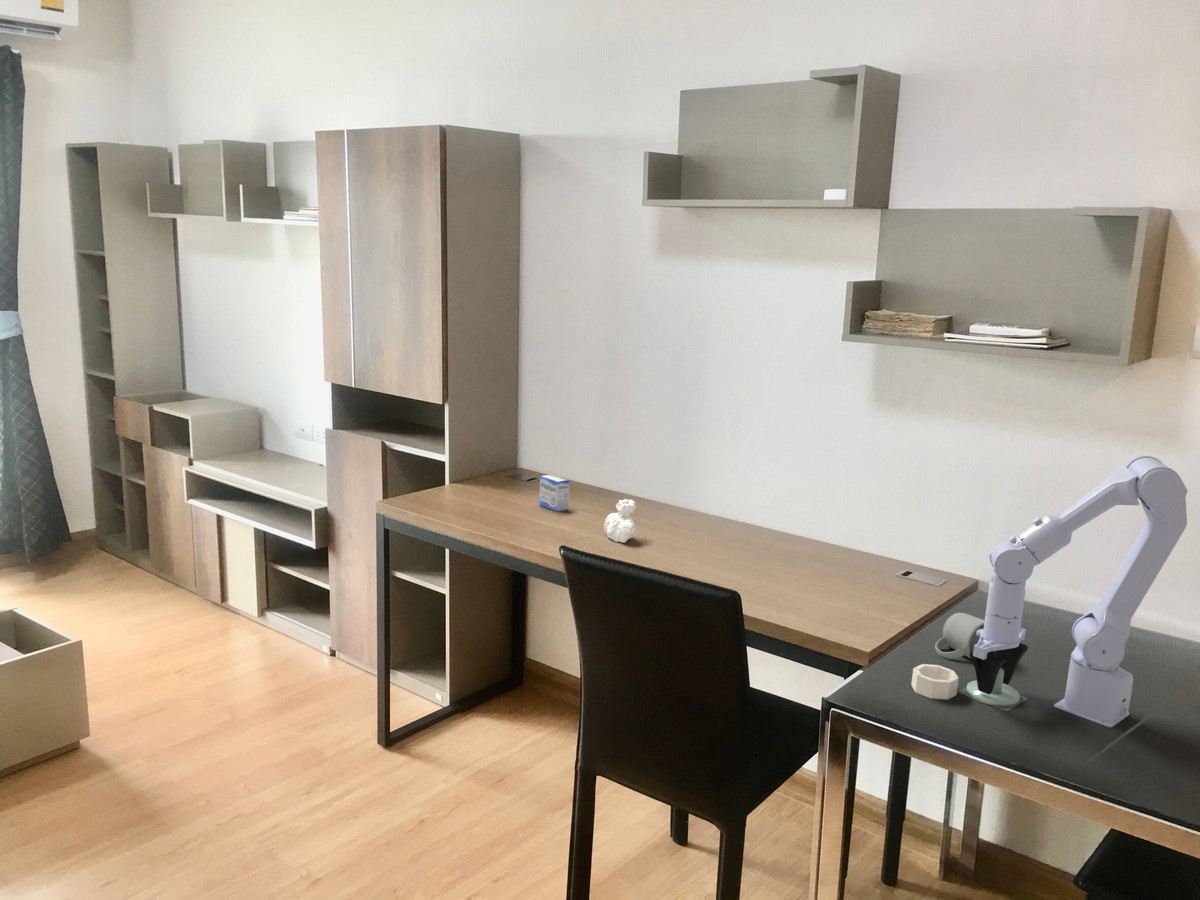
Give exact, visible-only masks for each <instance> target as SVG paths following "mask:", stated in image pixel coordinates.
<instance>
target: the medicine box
mask: <svg viewBox="0 0 1200 900" xmlns="http://www.w3.org/2000/svg"><path fill="white" fill-rule="evenodd" d="M569 500H570V480H568V479H567V478H566V479H565V478H562V477H561V476H556V475H553V474H547V475H541V476H540V478H539V499H538V506H539V507H542V508H544V509H547V510H551V511H554V512H563V511H568V510H569V504H570V503H569V502H570V501H569Z"/></svg>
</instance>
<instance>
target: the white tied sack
mask: <svg viewBox="0 0 1200 900" xmlns="http://www.w3.org/2000/svg"><path fill="white" fill-rule="evenodd" d="M636 507H637V503H636V502H635V501H634V500H633V499H627V498H624V499H623V500H622V499H619V500H618V503H616V504H615V508H616V510H617V512H612V513H610V514H608V515H607V517H606V518H605V520H604V524H603V528H604V532H605V534H606V537H607V538H609V540H612V541H614V542H616V543H617V542H619V543H623V544H624V543H626V542H627V541H628V540H630V539H632V538H634V536H635V531H636V530H637V528H636V524H635V522H634V519H632V517H631V514H634V511H635V509H636Z"/></svg>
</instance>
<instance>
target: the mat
mask: <svg viewBox="0 0 1200 900" xmlns="http://www.w3.org/2000/svg"><path fill="white" fill-rule="evenodd" d="M966 690H967V686H965V687H963V688H961V689H959V690H957V694H960V695H962V696H963V695H964V696H965V697H968V698H971V699H973V698H972V697H971V696H969V695H968V693H967V691H966ZM1027 700H1029V697H1026V696H1024V695H1021V694H1020V700H1019V703H1018V704H1016V705H1013V706H1006V707H1003V706H994V705H989V704H987V705H988V706H991V707H994V708H996V709H998V710H1001V711H1004V712H1008V711H1011V709H1014V708H1016V707H1017V706H1018V705H1020V704H1022V703H1024V702H1025V701H1027Z"/></svg>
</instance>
